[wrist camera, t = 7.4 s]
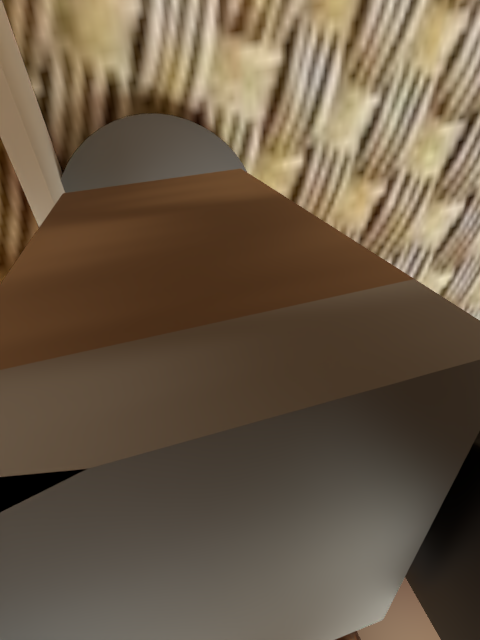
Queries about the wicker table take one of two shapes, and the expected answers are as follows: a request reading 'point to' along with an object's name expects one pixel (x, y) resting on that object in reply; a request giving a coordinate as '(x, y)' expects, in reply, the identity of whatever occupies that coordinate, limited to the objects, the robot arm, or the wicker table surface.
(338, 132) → the wicker table surface
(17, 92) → the beige square frame
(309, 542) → the gray box
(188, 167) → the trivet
